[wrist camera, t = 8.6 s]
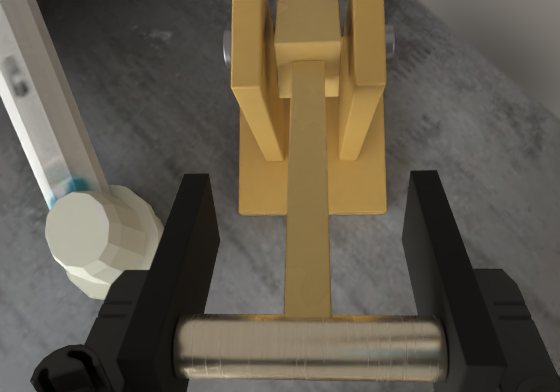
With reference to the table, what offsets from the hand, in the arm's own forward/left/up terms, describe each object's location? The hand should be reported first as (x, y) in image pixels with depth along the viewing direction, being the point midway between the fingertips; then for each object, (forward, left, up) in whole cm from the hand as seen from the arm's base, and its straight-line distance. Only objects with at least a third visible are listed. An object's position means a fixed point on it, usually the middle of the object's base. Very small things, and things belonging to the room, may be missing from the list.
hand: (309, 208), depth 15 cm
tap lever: (+1, 0, 0) cm, 1 cm away
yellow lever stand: (+6, -2, -12) cm, 14 cm away
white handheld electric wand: (+12, +12, -13) cm, 21 cm away
